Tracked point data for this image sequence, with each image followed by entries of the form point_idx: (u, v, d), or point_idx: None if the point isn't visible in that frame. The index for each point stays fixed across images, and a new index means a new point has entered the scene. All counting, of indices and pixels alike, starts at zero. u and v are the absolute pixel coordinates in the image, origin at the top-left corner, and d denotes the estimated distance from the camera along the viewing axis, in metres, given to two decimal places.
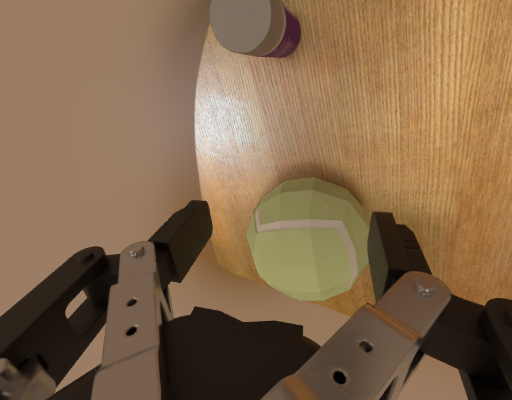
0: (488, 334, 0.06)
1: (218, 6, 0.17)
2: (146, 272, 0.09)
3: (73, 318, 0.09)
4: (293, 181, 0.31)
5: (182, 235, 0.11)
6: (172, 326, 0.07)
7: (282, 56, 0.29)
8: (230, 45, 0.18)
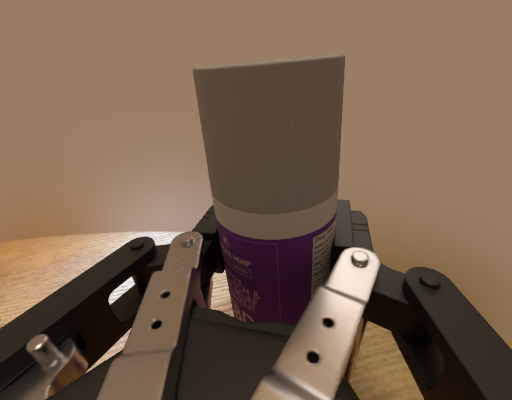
0: (407, 296, 0.07)
1: None
2: (188, 265, 0.09)
3: (120, 301, 0.10)
4: None
5: None
6: (197, 329, 0.07)
7: None
8: (214, 65, 0.08)
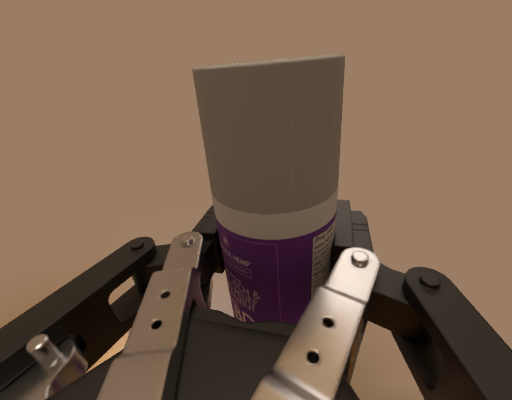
0: (407, 296, 0.07)
1: None
2: (188, 264, 0.09)
3: (120, 301, 0.10)
4: None
5: None
6: (197, 329, 0.07)
7: None
8: (214, 65, 0.08)
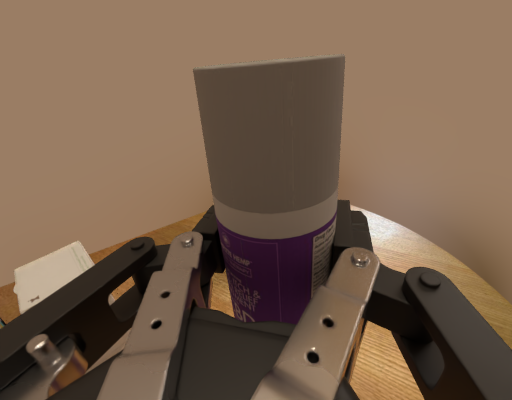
0: (407, 296, 0.07)
1: None
2: (188, 264, 0.09)
3: (120, 301, 0.10)
4: None
5: None
6: (197, 329, 0.07)
7: None
8: None
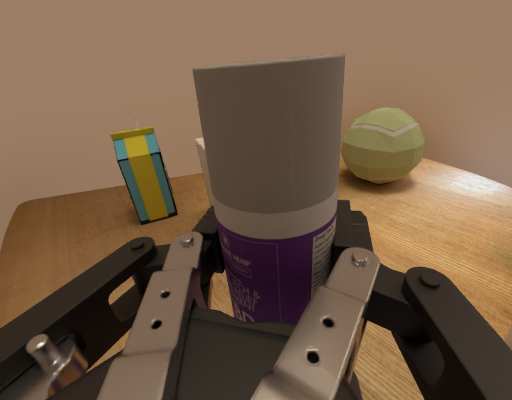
0: (407, 296, 0.07)
1: None
2: (188, 264, 0.09)
3: (120, 301, 0.10)
4: (418, 159, 0.49)
5: None
6: (197, 329, 0.07)
7: None
8: None
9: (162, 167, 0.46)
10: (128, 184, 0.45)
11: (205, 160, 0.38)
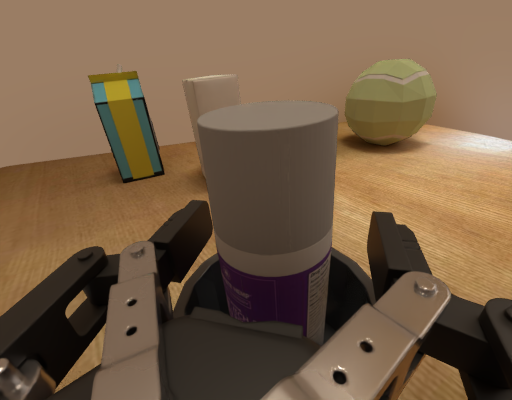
0: (488, 334, 0.06)
1: (281, 103, 0.09)
2: (146, 272, 0.09)
3: (73, 318, 0.09)
4: (429, 113, 0.45)
5: (182, 235, 0.11)
6: (172, 326, 0.07)
7: None
8: (217, 111, 0.09)
9: (146, 116, 0.42)
10: (108, 133, 0.41)
11: (192, 96, 0.34)
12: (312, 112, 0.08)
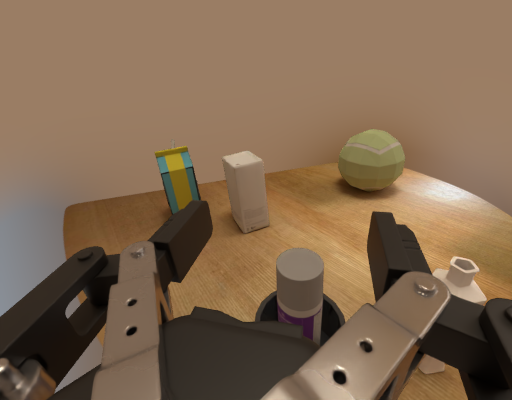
0: (489, 333, 0.06)
1: (303, 252, 0.26)
2: (146, 272, 0.09)
3: (73, 318, 0.09)
4: (400, 171, 0.61)
5: (182, 235, 0.11)
6: (172, 326, 0.07)
7: None
8: (281, 258, 0.25)
9: (194, 178, 0.58)
10: (167, 192, 0.57)
11: (232, 174, 0.50)
12: (315, 266, 0.24)
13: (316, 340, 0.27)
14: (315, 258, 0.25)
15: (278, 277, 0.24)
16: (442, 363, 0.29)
